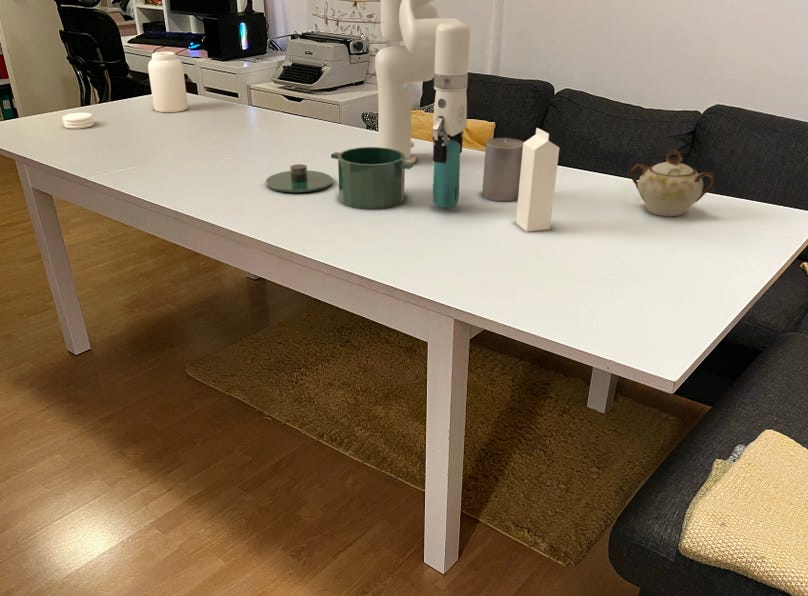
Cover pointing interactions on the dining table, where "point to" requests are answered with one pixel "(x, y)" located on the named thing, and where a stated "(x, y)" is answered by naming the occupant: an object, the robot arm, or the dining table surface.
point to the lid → (299, 180)
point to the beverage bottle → (447, 176)
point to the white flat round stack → (78, 120)
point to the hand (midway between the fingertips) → (447, 157)
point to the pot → (371, 177)
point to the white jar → (167, 82)
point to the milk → (537, 182)
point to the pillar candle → (502, 169)
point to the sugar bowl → (670, 186)
